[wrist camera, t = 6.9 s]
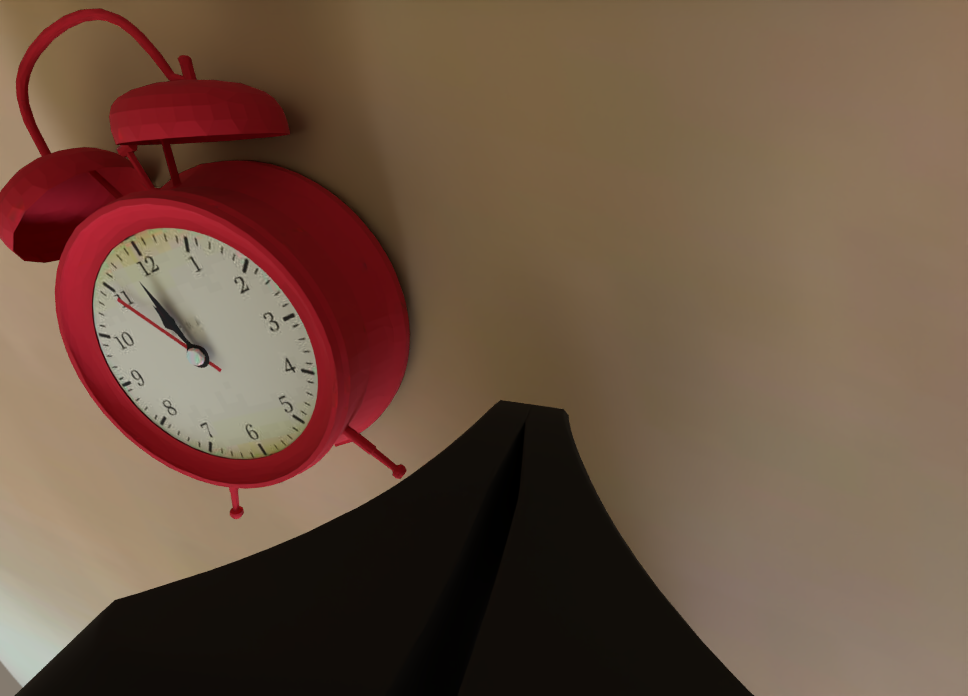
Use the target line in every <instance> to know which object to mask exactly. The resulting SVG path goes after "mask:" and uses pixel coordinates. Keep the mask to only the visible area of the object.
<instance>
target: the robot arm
mask: <svg viewBox="0 0 968 696" xmlns="http://www.w3.org/2000/svg"><path fill="white" fill-rule="evenodd" d="M15 696H754V695H753V694H752V693H751V692H749V691H748V690H747V689H746V687H745V686H744V685H743V684H742V683H741V682H740V681H739V680H738V679H737V678H736V677H735V676H734V675H733V674H732V673H731V672H730V671H729V670H728V669H727V668H726V666H725V665H724V664H723V663H722V662H721V661H720V660H719V659H718V658H717V657H716V656H715V655H714V654H713V653H712V651H711V650H710V649H709V648H708V647H707V646H706V645H705V644H704V643H703V642H702V641H701V639H700V638H699V637H698V636H697V635H696V633H695V632H694V631H693V630H692V629H691V627H690V626H689V625H688V624H687V623H686V621H685V620H684V619H683V618H682V617H681V615H680V614H679V613H678V612H677V611H676V609H675V608H674V607H673V606H672V605H671V603H670V602H669V601H668V600H667V599H666V597H665V596H664V595H663V594H662V592H661V591H660V590H659V589H658V587H657V586H656V585H655V583H654V582H653V581H652V579H651V578H650V577H649V575H648V574H647V572H646V571H645V570H644V568H643V567H642V566H641V564H640V563H639V561H638V560H637V559H636V557H635V556H634V554H633V553H632V551H631V550H630V548H629V547H628V545H627V544H626V542H625V541H624V539H623V538H622V536H621V535H620V533H619V531H618V530H617V528H616V526H615V525H614V523H613V521H612V520H611V518H610V516H609V515H608V513H607V511H606V509H605V507H604V505H603V504H602V502H601V500H600V498H599V496H598V494H597V492H596V490H595V488H594V486H593V484H592V482H591V480H590V478H589V476H588V473H587V471H586V469H585V467H584V464H583V462H582V460H581V458H580V455H579V452H578V450H577V447H576V444H575V441H574V438H573V435H572V432H571V428H570V423H569V415H568V414H567V413H566V412H565V410H564V409H559V408H552V407H545V406H538V405H531V404H524V403H517V402H510V401H503V400H500V401H499V402H498V403H496V404H495V405H494V406H493V407H492V408H491V409H490V410H488V411H487V412H486V413H485V414H484V415H483V416H482V417H481V418H480V419H479V420H478V421H477V422H476V423H475V424H474V425H473V426H471V427H470V428H469V429H468V430H467V431H466V432H465V433H464V434H462V435H461V436H460V437H459V438H458V439H456V440H455V441H454V442H453V443H452V444H451V445H449V446H448V447H447V448H446V449H445V450H443V451H442V452H441V453H440V454H438V455H437V456H436V457H434V458H433V459H432V460H430V461H429V462H428V463H426V464H425V465H424V466H422V467H421V468H420V469H418V470H417V471H416V472H414V473H413V474H411V475H410V476H409V477H407V478H406V479H404V480H403V481H401V482H400V483H398V484H397V485H395V486H394V487H392V488H391V489H389V490H387V491H386V492H384V493H382V494H380V495H379V496H377V497H375V498H374V499H372V500H370V501H369V502H367V503H365V504H363V505H361V506H360V507H358V508H356V509H354V510H352V511H350V512H347V513H345V514H343V515H341V516H339V517H337V518H335V519H333V520H331V521H329V522H327V523H325V524H323V525H321V526H319V527H317V528H315V529H313V530H311V531H309V532H307V533H305V534H302V535H300V536H298V537H295V538H293V539H291V540H288V541H286V542H284V543H281V544H279V545H276V546H274V547H272V548H269V549H267V550H264V551H261V552H259V553H256V554H254V555H251V556H248V557H246V558H243V559H241V560H238V561H235V562H233V563H230V564H227V565H224V566H221V567H219V568H216V569H213V570H210V571H207V572H204V573H201V574H197V575H194V576H191V577H188V578H185V579H182V580H179V581H176V582H172V583H169V584H166V585H163V586H160V587H157V588H154V589H150V590H147V591H144V592H141V593H138V594H134V595H131V596H127V597H124V598H121V599H117V600H115V601H113V602H112V603H111V604H110V605H109V606H108V607H107V608H106V609H105V610H103V611H102V612H101V613H100V614H99V615H98V616H97V617H96V618H95V619H94V620H93V621H92V622H91V623H90V624H89V625H88V626H87V627H86V628H85V629H84V630H82V631H81V632H80V633H79V634H78V635H77V636H76V637H75V638H74V639H73V640H72V641H71V642H70V643H69V644H68V645H67V646H66V647H65V648H64V649H63V650H62V651H61V652H60V653H59V654H57V655H56V656H55V657H54V658H53V659H52V660H51V661H50V662H49V663H48V664H47V665H46V666H45V667H44V668H43V669H42V670H41V671H40V672H39V673H38V674H37V675H36V676H35V677H34V678H33V679H31V680H30V681H29V682H28V683H27V684H26V685H25V686H24V687H23V688H22V689H21V690H20V691H19V692H18V693H17V694H16V695H15Z"/></svg>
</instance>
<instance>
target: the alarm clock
mask: <svg viewBox="0 0 968 696" xmlns="http://www.w3.org/2000/svg"><path fill="white" fill-rule="evenodd" d="M93 20H103V21H108V22H110V23H113V24H115V25H118V26H119V27H121V28H122V29H123V30H125V31H126V32H127V33H129V34H130V35H131V36H132V37H133V38H134V39H135V40H136V41H137V42H138V43H139V44H140V45H141V46H142V48H143V49H144V50H145V51H146V52H147V53H148V54H149V55H150V56H151V58H152V59H153V60H154V62H155V63H156V64H157V65H158V67H159V68H160V69H161V71H162V72H163V73H164V75H165V76H166V77H167V78H168V80H170V81H167V82H158V83H153V84H150V85H146V86H143V87H139V88H136V89H133V90H130V91H128V92H127V93H125V94H123V95H121V96H120V97H118V98H117V99H116V100H115V102H114V103H113V104H112V106H111V110H110V115H109V119H110V126H111V132H112V135H113V138H114V140H115V143H116V145H120V146H119V147H118V148H117V151H118V153H119V154H120V155H119V154H117V153H114V152H110V151H107V150H103V149H99V148H89V147H82V148H72V149H66V150H61V151H57V152H54V153H51V152H50V150H49V148H48V146H47V145H46V143H45V141H44V139H43V137H42V135H41V133H40V131H39V129H38V127H37V125H36V123H35V120H34V117H33V114H32V111H31V108H30V105H29V97H28V84H29V79H30V74H31V72H32V69H33V67H34V64H35V62H36V61H37V59H38V58H39V56H40V55H41V53H42V52H43V51H44V50H45V49H46V48H47V47H48V45H49V44H50V43H51V42H52V41H53V40H54V39H55V38H56V37H58V36H59V35H61V34H62V33H63V32H65V31H66V30H67V29H69V28H71V27H73V26H76V25H78V24H80V23H82V22H85V21H93ZM178 61H179V63H180V66H181V70H182V74H183V76H182V75H178V74H175V73H174V72H173V71H172V69H171V68H170V66H169V65H168V63H167V62H166V60H165V59H164V58H163V56H162V55H161V53H160V52H159V51H158V50H157V49H156V48H155V46H154V45H153V44H152V43H151V42H150V41H149V39H148V38H147V37H146V36H145V35H144V34H143V33H142V32H141V31H140V30H139V29H138V28H136V27H135V26H134V25H133V24H132V23H131V22H129V21H128V20H127V19H125V18H124V17H122V16H120V15H118V14H115V13H112V12H109V11H106V10H104V9H101V8H100V9H84V10H78V11H76V12H73V13H70V14H68V15H65V16H63V17H62V18H60V19H59V20H57V21H56V22H54V23H53V24H51V25H50V26H49V27H47V28H46V29H44V30H43V31H42V32H41V34H40V35H39V36H38V37H37V38H36V39H35V40H34V42H33V43H32V44H31V45H30V46H29V48H28V49H27V51H26V53H25V55H24V57H23V59H22V61H21V63H20V65H19V68H18V73H17V78H16V94H17V100H18V104H19V108H20V112H21V115H22V118H23V121H24V124H25V125H26V127H27V129H28V131H29V133H30V135H31V137H32V139H33V141H34V142H35V144H36V146H37V148H38V150H39V152H40V154H41V156H42V157H40V158H37V159H36V160H34V161H32V162H31V163H29V164H28V165H26V166H25V167H23V168H22V169H20V170H19V171H18V172H17V173H16V174H15V175H14V176H13V177H12V178H11V179H10V180H9V182H8V183H7V184H6V185H5V186H4V188H3V189H2V190H1V192H0V238H1V239H2V241H3V242H4V243H5V245H6V246H7V247H8V248H9V249H10V250H12V251H13V252H14V253H15V254H16V255H18V256H19V257H20V258H21V259H23V260H24V261H31V262H43V263H46V262H51V261H57V260H60V261H59V265H58V269H57V274H56V285H55V302H56V313H57V319H58V324H59V329H60V333H61V336H62V339H63V342H64V345H65V348H66V351H67V353H68V356H69V358H70V361H71V363H72V365H73V367H74V369H75V371H76V373H77V375H78V377H79V379H80V380H81V382H82V383H83V385H84V387H85V388H86V390H87V391H88V393H89V395H90V396H91V398H92V399H93V400H94V401H95V403H96V404H97V405H98V407H99V408H100V409H101V411H102V412H103V413H104V414H105V415H106V416H107V418H108V419H109V420H110V421H111V422H112V423H113V424H114V425H115V426H116V427H117V428H118V429H119V430H120V431H121V432H122V433H123V434H124V435H125V436H126V437H127V438H128V439H129V440H131V441H132V442H133V443H134V444H136V445H137V446H138V447H139V448H140V449H142V450H143V451H145V452H146V453H147V454H149V455H150V456H151V457H153V458H154V459H156V460H158V461H159V462H161V463H163V464H164V465H166V466H168V467H169V468H172V469H174V470H176V471H178V472H180V473H182V474H184V475H187V476H189V477H192V478H194V479H196V480H199V481H203V482H206V483H210V484H214V485H218V486H224V487H229V490H230V492H231V499H232V505H233V508H232V509H231V510H230V516H231V517H232V518H234V519H238V518H240V517H241V516H242V515H243V513H244V511H243V507H241V506H239V498H238V488H259V487H265V486H270V485H274V484H277V483H280V482H283V481H285V480H287V479H290V478H292V477H294V476H295V475H297V474H300V473H302V472H304V471H305V470H307V469H309V468H310V467H312V466H313V465H315V464H316V463H317V462H318V461H320V460H321V459H322V458H323V457H324V456H325V455H326V453H327V452H328V451H329V450H330V449H331V447H332V446H333V444H334V445H335V446H339V445H343V444H346V443H349V442H354V443H355V444H356V445H358V446H359V447H360V448H362V449H363V450H364V451H366V452H367V453H368V454H371V455H372V456H373V457H375V458H376V459H378V460H379V461H380V462H382V463H383V464H384V465H386V466H387V467H388V468H390V469H391V470H392V471H393V476H394V477H395V478H398V479H401V478H402V476H403V475H404V474H405V472H406V468H405V466H403V465H402V464H400V465H396V464H394V463H393V462H392V461H391V460H390V459H388V458H387V457H386V456H385V455H383V454H382V453H381V452H380V451H379V450H377V449H376V446H374V445H373V444H372V443H371V442H369V441H368V440H367V439H366V438H364V437H363V436H362V435H361V434H359V433H361V432H362V431H363V430H365V429H366V428H368V427H369V426H370V425H371V424H372V423H373V422H375V421H376V420H377V419H378V418H379V416H380V415H381V414H382V413H383V412H384V410H385V409H386V408H387V407H388V405H389V404H390V402H391V401H392V399H393V397H394V396H395V394H396V392H397V391H398V389H399V387H400V384H401V382H402V379H403V377H404V374H405V370H406V366H407V361H408V355H409V340H410V331H409V319H408V313H407V308H406V303H405V298H404V295H403V292H402V289H401V286H400V283H399V281H398V278H397V275H396V273H395V271H394V268H393V266H392V264H391V262H390V260H389V259H388V257H387V255H386V253H385V252H384V250H383V248H382V247H381V245H380V243H379V242H378V240H377V239H376V238H375V236H374V235H373V234H372V232H371V231H370V230H369V229H368V227H367V226H366V225H365V224H364V223H363V221H362V220H361V219H360V218H359V217H358V216H357V215H356V214H355V213H354V212H353V211H352V210H351V209H350V208H349V207H348V206H347V205H346V204H344V203H343V202H342V201H341V200H340V199H339V198H337V197H336V196H335V195H334V194H332V193H331V192H330V191H328V190H327V189H325V188H324V187H322V186H321V185H319V184H317V183H316V182H314V181H312V180H310V179H308V178H306V177H304V176H302V175H300V174H298V173H296V172H293V171H291V170H288V169H285V168H283V167H280V166H276V165H272V164H268V163H262V162H256V161H239V160H233V161H219V162H212V163H205V164H200V165H198V166H196V167H193V168H191V169H188V170H186V171H184V172H181V173H180V174H178V171H177V167H176V163H175V160H174V156H173V153H172V149H171V145H170V144H184V143H202V142H218V141H232V140H244V139H256V138H267V137H276V136H284V135H289V134H290V131H289V127H288V122H287V119H286V117H285V114H284V111H283V109H282V108H281V106H280V105H279V104H278V103H277V101H276V100H275V99H274V98H273V97H272V96H270V95H269V94H267V93H266V92H264V91H262V90H259V89H256V88H253V87H250V86H248V85H245V84H242V83H235V82H227V81H219V80H197V79H196V75H195V72H194V68H193V64H192V60H191V58H190V57H189V56H186V55H181V56H179V58H178ZM159 144H162V147H163V151H164V154H165V158H166V161H167V165H168V169H169V172H170V176H171V180H170V181H168V182H167V183H166V184H165V185H164V186H162V187H161V188H155V187H154V186H153V184H152V182H151V181H150V179H149V178H148V176H147V174H146V173H145V171H144V169H143V168H142V166H141V164H140V163H139V161H138V160H137V158H136V156H135V155H134V152H135V151H137V145H159ZM125 157H128V158H129V160H130V161H129V160H128V159H126V158H125Z"/></svg>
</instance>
